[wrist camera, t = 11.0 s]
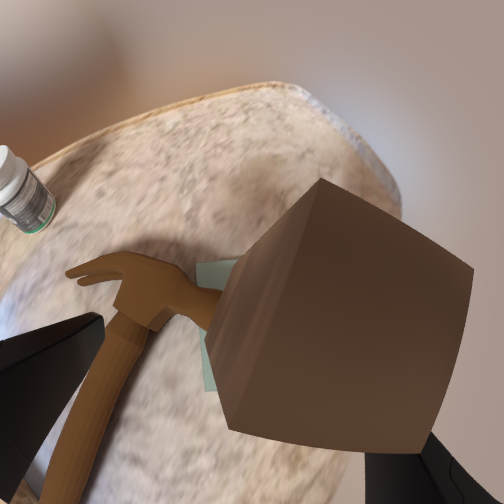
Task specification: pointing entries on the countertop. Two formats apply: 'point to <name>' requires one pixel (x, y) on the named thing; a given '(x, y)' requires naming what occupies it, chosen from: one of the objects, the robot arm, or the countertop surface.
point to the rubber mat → (213, 278)
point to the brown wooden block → (339, 329)
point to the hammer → (118, 356)
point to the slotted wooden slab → (23, 495)
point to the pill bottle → (23, 195)
